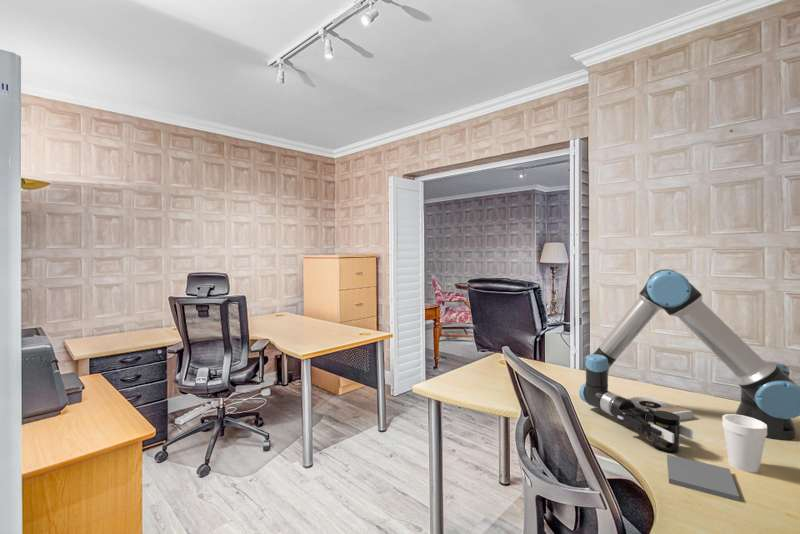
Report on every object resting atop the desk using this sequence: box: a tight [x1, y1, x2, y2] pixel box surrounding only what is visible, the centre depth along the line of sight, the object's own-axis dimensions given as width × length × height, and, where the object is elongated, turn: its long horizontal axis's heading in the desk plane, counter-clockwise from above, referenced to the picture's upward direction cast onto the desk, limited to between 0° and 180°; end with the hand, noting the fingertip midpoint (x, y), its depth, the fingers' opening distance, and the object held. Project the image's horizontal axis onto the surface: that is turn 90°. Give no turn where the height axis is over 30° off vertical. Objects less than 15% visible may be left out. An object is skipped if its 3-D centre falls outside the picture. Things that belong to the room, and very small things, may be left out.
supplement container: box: [652, 411, 681, 454], centre depth 117 cm, size 7×7×10 cm
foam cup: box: [722, 413, 767, 474], centre depth 107 cm, size 10×9×13 cm
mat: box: [666, 454, 740, 502], centre depth 102 cm, size 14×14×1 cm
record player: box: [630, 396, 694, 421], centre depth 146 cm, size 12×3×20 cm
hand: (682, 436), depth 112 cm, fingers closed on supplement container, 7 cm apart
